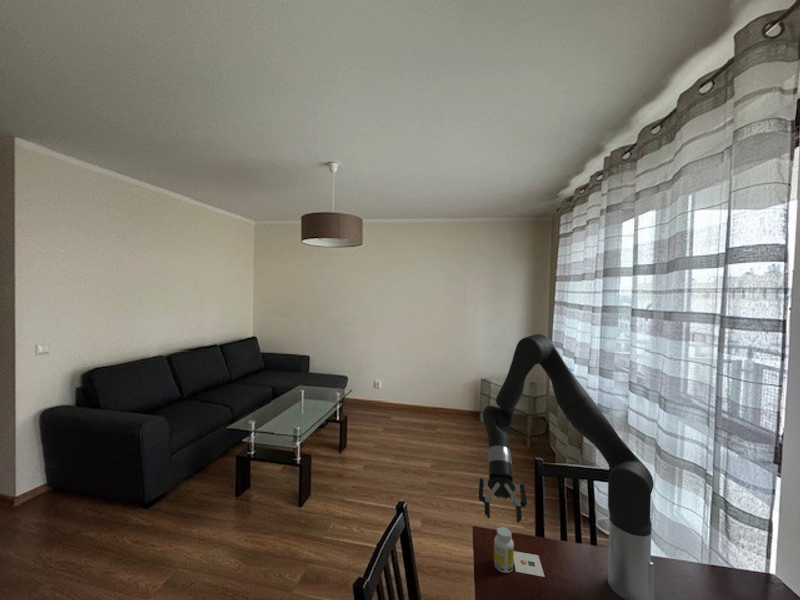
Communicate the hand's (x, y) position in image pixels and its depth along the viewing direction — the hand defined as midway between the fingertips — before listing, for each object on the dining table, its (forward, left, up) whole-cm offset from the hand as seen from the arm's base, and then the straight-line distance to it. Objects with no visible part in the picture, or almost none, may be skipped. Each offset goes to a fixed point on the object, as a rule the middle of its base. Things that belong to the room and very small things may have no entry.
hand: (503, 519), depth 98 cm
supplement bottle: (0, +4, -11) cm, 12 cm away
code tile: (-7, +1, -11) cm, 13 cm away
